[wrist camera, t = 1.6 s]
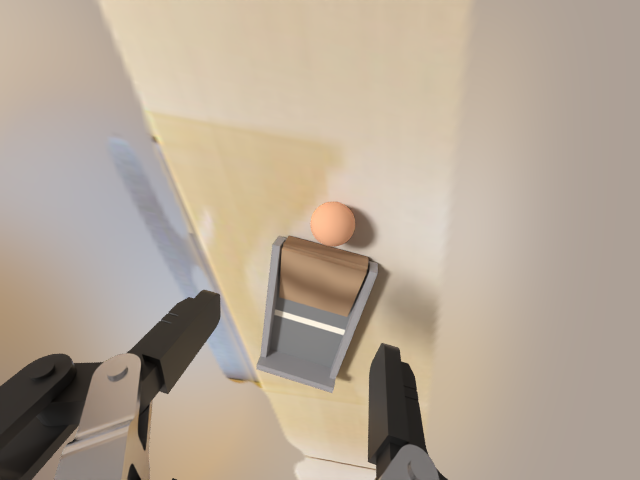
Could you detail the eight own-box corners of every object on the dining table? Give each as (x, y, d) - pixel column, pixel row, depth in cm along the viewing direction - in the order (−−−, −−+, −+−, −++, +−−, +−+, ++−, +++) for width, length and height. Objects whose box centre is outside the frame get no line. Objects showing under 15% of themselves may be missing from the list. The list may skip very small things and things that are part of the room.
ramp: (291, 232, 26) (282, 245, 24) (368, 253, 26) (367, 269, 23) (282, 290, 31) (274, 307, 28) (348, 310, 30) (345, 328, 28)
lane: (278, 236, 26) (267, 250, 23) (377, 263, 25) (377, 281, 23) (264, 350, 36) (256, 369, 33) (335, 372, 35) (331, 393, 33)
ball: (319, 190, 23) (310, 206, 19) (361, 201, 22) (359, 219, 19) (312, 228, 25) (302, 247, 21) (350, 238, 24) (346, 259, 21)
